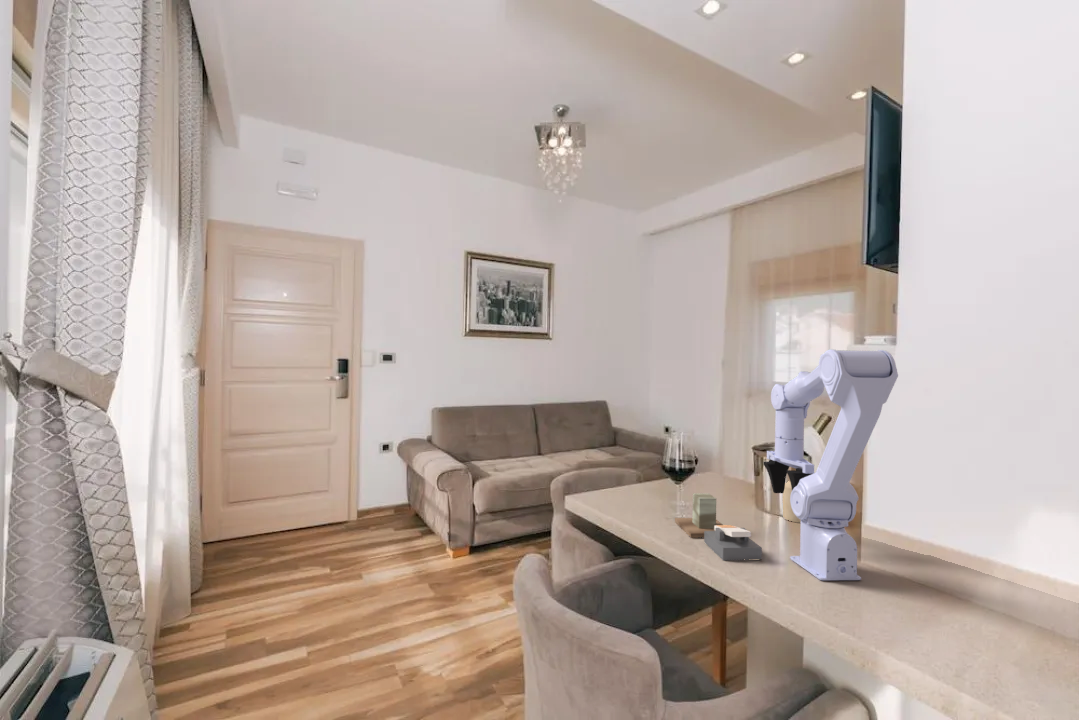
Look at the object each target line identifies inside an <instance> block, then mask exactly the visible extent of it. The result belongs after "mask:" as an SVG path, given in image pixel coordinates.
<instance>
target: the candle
mask: <svg viewBox="0 0 1079 720" xmlns="http://www.w3.org/2000/svg"><path fill="white" fill-rule="evenodd" d="M791 492H792V487H791V482H790V481H788V482H787V483H785V489H784V493H782V503H783V517H784V518H785V519H787V520H786V521H788V520H789V521H788V522H791V521H792V522H791V523H796V524H797V523H798V524H799V523H800V524H801V519H799V518H798V517H797V516H796V515H795V514H794V512H793V510H792V508H791V503H790V495H791ZM783 517H782V518H783ZM784 518H783V519H784ZM785 519H784V520H785Z"/></svg>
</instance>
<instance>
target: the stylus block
mask: <svg viewBox="0 0 1079 720" xmlns="http://www.w3.org/2000/svg"><path fill="white" fill-rule="evenodd" d="M691 518H692V522H693V523H694V524H695V525H696V526H697V527H698V528H714V525H716V520H717V498H716V497H715V496H713V495H712V494H710V493H702V492H701V493H692V517H691Z"/></svg>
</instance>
